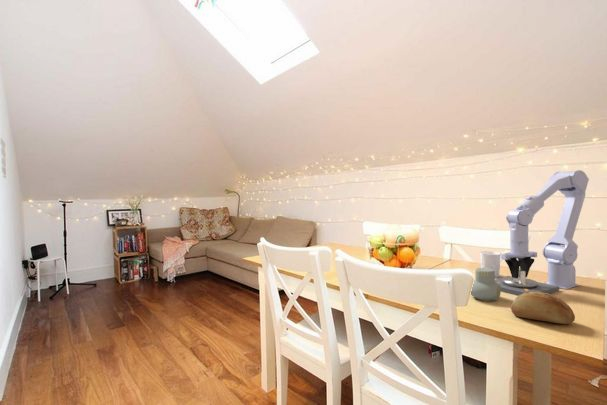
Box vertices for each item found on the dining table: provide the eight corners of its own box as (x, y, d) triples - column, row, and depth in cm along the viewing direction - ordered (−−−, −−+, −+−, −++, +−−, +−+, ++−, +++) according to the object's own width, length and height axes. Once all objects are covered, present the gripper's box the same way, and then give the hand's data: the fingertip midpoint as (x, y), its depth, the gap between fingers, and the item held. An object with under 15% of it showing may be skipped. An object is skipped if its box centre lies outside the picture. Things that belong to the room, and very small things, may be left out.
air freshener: (495, 305, 108) (495, 274, 108) (467, 300, 114) (467, 271, 114) (501, 296, 117) (501, 268, 116) (476, 292, 122) (475, 265, 122)
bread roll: (575, 332, 87) (575, 302, 87) (508, 320, 96) (508, 292, 96) (574, 320, 95) (574, 292, 94) (512, 310, 104) (512, 284, 103)
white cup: (481, 272, 150) (481, 250, 150) (501, 274, 145) (501, 252, 145) (478, 276, 144) (478, 253, 143) (499, 278, 139) (499, 255, 139)
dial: (498, 279, 132) (498, 265, 132) (530, 280, 129) (530, 266, 129) (507, 287, 121) (507, 272, 121) (542, 288, 118) (542, 273, 118)
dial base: (509, 279, 137) (509, 275, 137) (559, 290, 122) (559, 285, 122) (482, 286, 129) (481, 282, 129) (532, 299, 113) (532, 294, 113)
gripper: (512, 244, 119) (512, 281, 120) (544, 241, 123) (544, 278, 123) (496, 241, 126) (496, 276, 126) (527, 239, 129) (527, 273, 130)
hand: (519, 277), depth 125 cm, fingers closed on dial, 3 cm apart
